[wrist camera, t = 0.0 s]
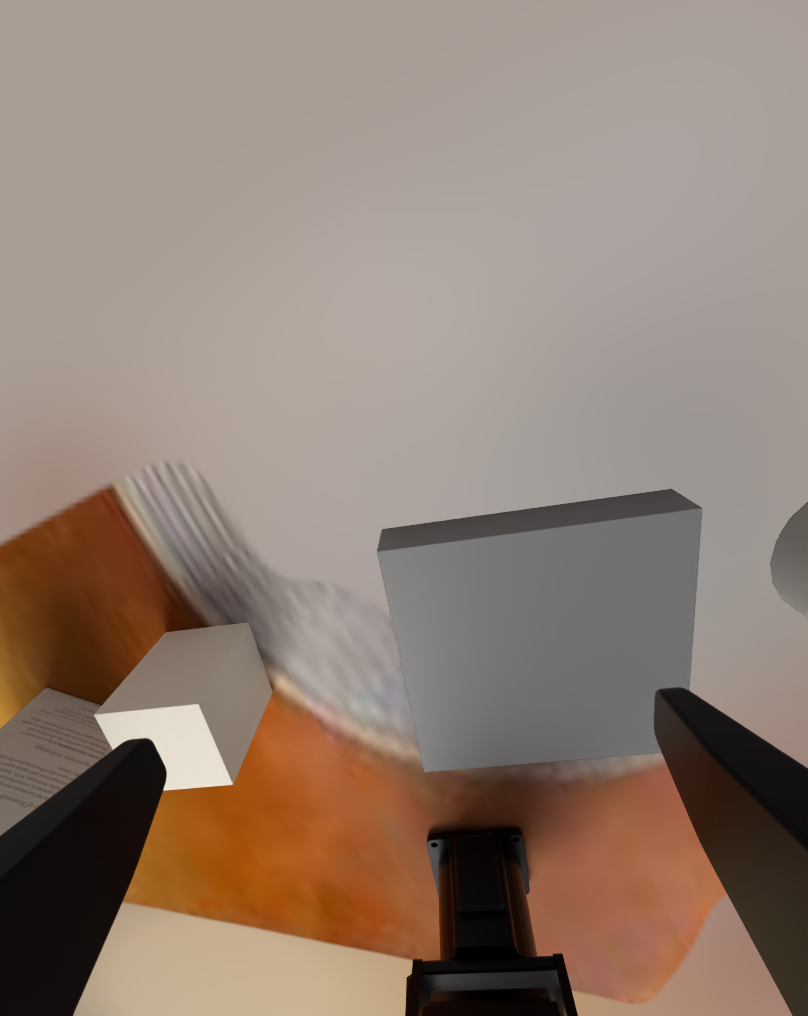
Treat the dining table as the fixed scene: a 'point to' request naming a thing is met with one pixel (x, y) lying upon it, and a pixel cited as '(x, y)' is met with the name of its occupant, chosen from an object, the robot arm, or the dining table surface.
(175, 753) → the block
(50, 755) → the skincare box
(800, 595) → the can
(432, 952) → the dining table surface
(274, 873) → the dining table surface
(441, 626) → the base board
